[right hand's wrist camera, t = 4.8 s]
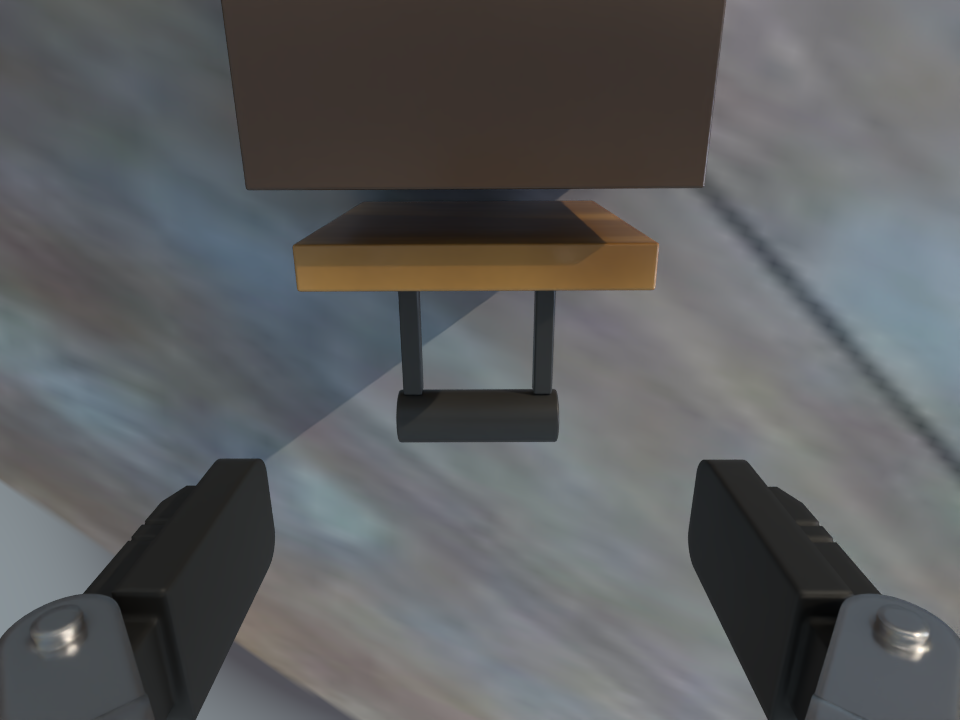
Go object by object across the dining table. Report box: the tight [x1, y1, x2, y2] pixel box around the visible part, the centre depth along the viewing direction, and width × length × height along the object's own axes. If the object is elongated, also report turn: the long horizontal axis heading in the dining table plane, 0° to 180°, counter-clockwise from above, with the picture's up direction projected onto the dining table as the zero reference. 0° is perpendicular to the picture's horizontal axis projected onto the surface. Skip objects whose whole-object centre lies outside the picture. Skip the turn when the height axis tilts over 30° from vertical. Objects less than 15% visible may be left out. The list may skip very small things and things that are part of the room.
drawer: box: [293, 201, 659, 442], centre depth 18 cm, size 26×9×10 cm, turn 0°
